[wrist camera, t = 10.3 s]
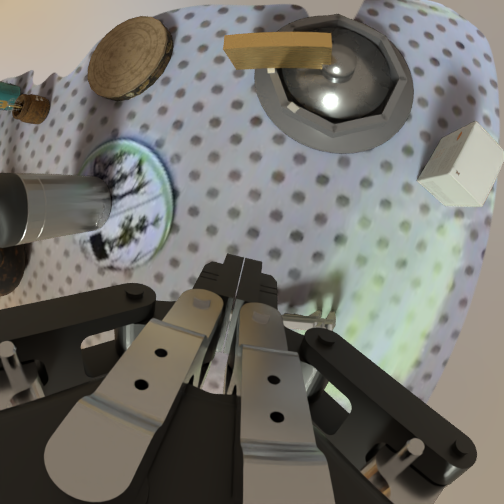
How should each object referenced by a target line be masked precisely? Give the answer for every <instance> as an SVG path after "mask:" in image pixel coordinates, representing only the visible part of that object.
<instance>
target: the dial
mask: <svg viewBox="0 0 504 504" xmlns="http://www.w3.org/2000/svg"><path fill="white" fill-rule="evenodd" d="M223 50H224V51H225V53H226V54H227V56H228V57H229V59H230V60H231V62H232V64H233V65H234V67H235V68H236V70H241V69H262V68H282V73H283V77H284V81H285V85H286V87H287V90H288V92H289V94H290V95H291V97H292V98H293V100H294V101H295V102H296V103H297V104H298V105H299V106H300V107H301V108H303V109H305V110H307V111H309V112H311V113H313V114H315V115H317V116H319V117H321V118H323V119H325V120H328V121H333V122H347V121H351V120H356V119H361V118H365V117H367V116H368V115H370V114H371V113H373V112H374V111H375V110H376V109H377V108H378V107H379V106H380V104H381V103H382V102H383V100H384V99H385V97H386V95H387V93H388V90H389V86H390V72H389V68H388V65H387V62H386V60H385V58H384V57H383V55H382V54H381V52H380V51H379V50H378V49H377V47H376V46H375V45H373V44H372V43H371V42H370V41H369V40H367V39H366V38H364V37H363V36H361V35H359V34H357V33H355V32H352V31H349V30H345V29H341V28H319V29H314V30H311V31H308V32H263V33H247V34H235V35H225V37H224V47H223Z"/></svg>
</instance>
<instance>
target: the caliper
mask: <svg viewBox="0 0 504 504" xmlns="http://www.w3.org/2000/svg"><path fill="white" fill-rule="evenodd" d="M321 312H322V310H317V311H316V312H314V313H313V314H311V315H309V316H303V315H298V314H288V313H285V314H284V315H282V318H283V323H284V326H285V327H287V328H290V329H300V330H308V329H310V328H315V327H319V328H325V329H328V330H331V331H333V329H334V327H335V323H336V317H335V311H333V310H331V311H330V313H329V314H328V316H327V318H326V319H323V318H321ZM232 313H233V310H231V314H230V319H229V320H231V317H232Z"/></svg>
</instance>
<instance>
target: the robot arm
mask: <svg viewBox="0 0 504 504" xmlns="http://www.w3.org/2000/svg"><path fill="white" fill-rule="evenodd" d="M110 209H111V196H110V192H109V189H108V187H107V185H106V183H105V182H104V181H103V180H102V179H100V178H98V177H95V176H80V175H62V174H34V173H0V248H5V247H10V246H14V245H20V244H25V243H30V242H34V241H39V240H44V239H50V238H55V237H61V236H66V235H72V234H77V233H83V232H89V231H94V230H97V229H99V228H101V227H102V226H103V225H104V224H105V222H106V221H107V219H108V217H109V214H110ZM243 260H244V257H240V256H236V255H231V254H227V256H226V258H225V261H224V263H223V264H221V263H217V262H213V261H212V262H210V263H208V264H206V265H205V266H204V268H203V270H202V272H201V274H200V276H199V277H198V279H197V281H196V283H195V285H194V287H193V289H190V290H187V291H185V292H183V293H182V294H181V296H180V297H179V298H178V300H177V301H171V302H170V301H156V294H155V292H154V291H153V290H152V289H151V288H150V287H148V286H146V285H143V284H138V283H126V284H121V285H116V286H112V287H107V288H102V289H97V290H93V291H88V292H83V293H78V294H74V295H69V296H64V297H59V298H55V299H50V300H45V301H40V302H35V303H31V304H26V305H21V306H16V307H11V308H7V309H2V310H0V504H434V502H435V501H436V499H437V498H438V496H439V495H440V493H441V492H442V490H443V489H444V488H445V487H447V486H448V485H449V484H451V483H452V482H453V481H454V480H456V479H457V478H458V477H459V476H461V475H462V474H463V473H464V472H465V471H467V470H468V469H469V468H470V467H471V466H472V465H473V464H474V463H475V461H476V458H477V451H476V447H475V445H474V444H473V442H472V440H471V439H470V438H469V437H468V436H466V435H465V434H464V433H463V432H461V431H460V430H459V429H457V428H456V427H455V426H454V425H452V424H451V423H450V422H448V421H447V420H446V419H445V418H443V417H442V416H441V415H439V414H438V413H437V412H436V411H434V410H433V409H432V408H430V407H429V406H428V405H427V404H425V403H424V402H423V401H421V400H420V399H419V398H418V397H416V396H415V395H414V394H413V393H411V392H410V391H409V390H407V389H406V388H405V387H404V386H402V385H401V384H400V383H399V382H397V381H396V380H395V379H394V378H392V377H391V376H390V375H388V374H387V373H386V372H385V371H383V370H382V369H381V368H380V367H378V366H377V365H376V364H375V363H373V362H372V361H371V360H370V359H368V358H367V357H366V356H365V355H363V354H362V353H361V352H359V351H358V350H357V349H356V348H354V347H353V346H352V345H351V344H349V343H348V342H347V341H346V340H344V339H343V338H342V337H341V336H339V335H338V334H337V333H335V332H333V331H331V330H328V329H325V328H319V327H315V328H310V329H308V330H307V331H306V332H305V335H301V334H299V333H297V332H294V331H292V330H290V329H288V328H287V327H285V326H284V323H283V318H282V315H281V314H280V312H279V311H277V282H276V280H275V279H274V278H273V276H271V275H267V274H263V273H261V270H262V262H261V261H257V260H253V259H248V258H245V262H244V266H243V270H242V275H241V279H240V283H239V287H238V291H237V296H236V300H235V304H234V308H233V313H232V317H231V321H230V326H229V330H228V334H227V339H226V343H225V347H224V352H223V353H226V354H229V356H228V361H227V365H226V369H225V376H224V387H223V394H212V393H209V392H206V391H204V390H202V387H203V384H204V381H205V379H206V376H207V374H208V371H209V369H210V365H211V361H212V360H213V358H214V356H215V352H216V351H217V352H222V348H223V344H224V339H225V335H226V331H227V327H228V323H229V319H230V314H231V310H232V306H233V302H234V298H235V293H236V289H237V285H238V281H239V277H240V272H241V268H242V264H243ZM112 329H114V333H115V340H112V341H108V342H105V343H102V344H98V345H95V346H91V347H88V348H85V349H81V343H82V341H83V340H84V339H85V338H86V337H88V336H91V335H95V334H98V333H102V332H105V331H109V330H112ZM328 382H330V383H332V384H333V385H334V386H335V387H336V388H337V389H338V390H339V391H340V392H341V393H343V394H344V395H345V396H346V397H347V398H348V399H349V400H350V402H351V406H352V410H351V413H350V414H349V413H348V412H347V411H346V410H345V409H344V408H343V407H341V406H340V405H339V404H338V403H337V402H336V401H335V400H334V399H333V398H332V397H331V396H330V395H329V394H327V393H326V392H325V391H324V389H325V387H326V386H327V384H328Z"/></svg>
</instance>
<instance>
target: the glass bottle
mask: <svg viewBox="0 0 504 504" xmlns="http://www.w3.org/2000/svg"><path fill="white" fill-rule="evenodd" d="M24 269H25V250H24V245H23V244H20V245H14V246H10V247H5V248H0V296H4V295H7V294H9V293H11V292H12V291H13V290H14V289H15V288H16V287H17V286H18V285H19V283H20V281H21V279H22V277H23V274H24Z"/></svg>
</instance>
